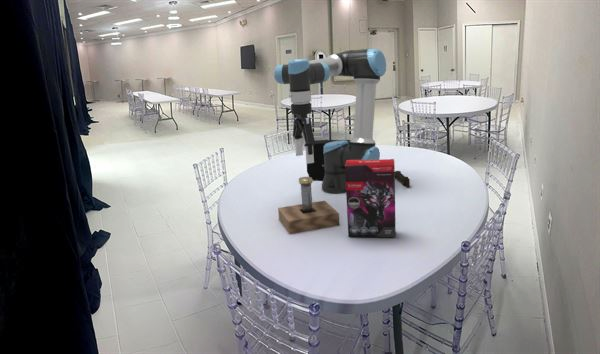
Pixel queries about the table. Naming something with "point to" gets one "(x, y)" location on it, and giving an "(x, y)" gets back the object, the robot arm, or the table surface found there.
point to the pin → (306, 194)
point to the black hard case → (318, 160)
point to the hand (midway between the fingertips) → (304, 159)
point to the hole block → (308, 217)
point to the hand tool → (402, 179)
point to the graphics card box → (370, 198)
